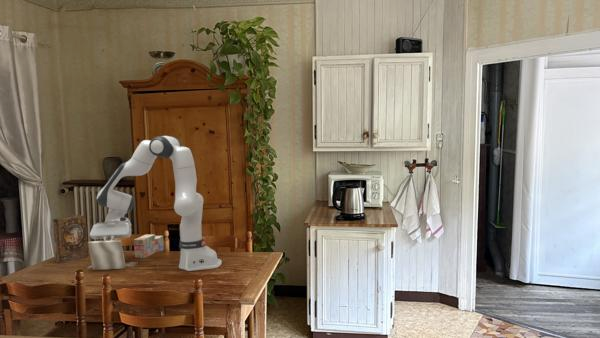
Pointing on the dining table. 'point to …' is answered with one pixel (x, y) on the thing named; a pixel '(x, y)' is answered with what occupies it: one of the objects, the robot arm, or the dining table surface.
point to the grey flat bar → (128, 264)
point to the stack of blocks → (148, 245)
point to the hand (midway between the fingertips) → (107, 244)
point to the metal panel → (106, 254)
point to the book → (70, 238)
